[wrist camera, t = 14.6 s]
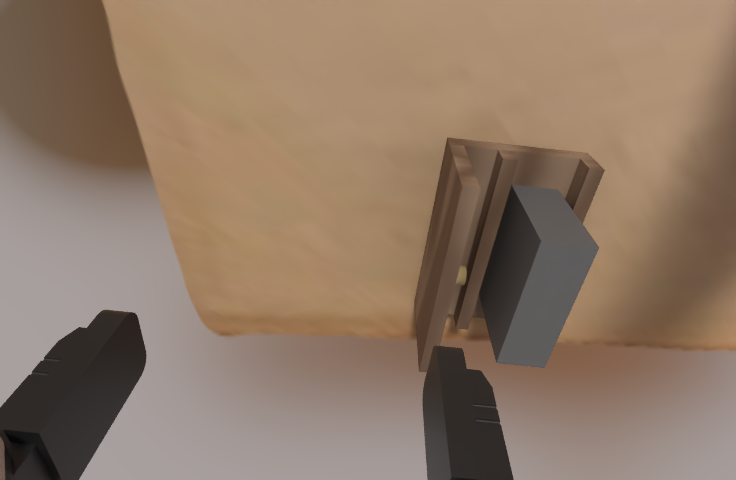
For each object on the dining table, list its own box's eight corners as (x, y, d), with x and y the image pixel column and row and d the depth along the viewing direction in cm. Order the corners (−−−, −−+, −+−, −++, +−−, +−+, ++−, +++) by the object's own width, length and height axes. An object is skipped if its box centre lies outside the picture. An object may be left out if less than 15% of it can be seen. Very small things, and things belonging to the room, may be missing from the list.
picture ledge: (588, 153, 38) (640, 206, 30) (526, 313, 47) (554, 385, 39) (447, 137, 38) (462, 186, 30) (414, 301, 47) (419, 371, 39)
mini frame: (561, 190, 38) (603, 248, 30) (521, 298, 44) (548, 368, 37) (511, 184, 38) (541, 241, 30) (478, 293, 44) (496, 362, 37)
